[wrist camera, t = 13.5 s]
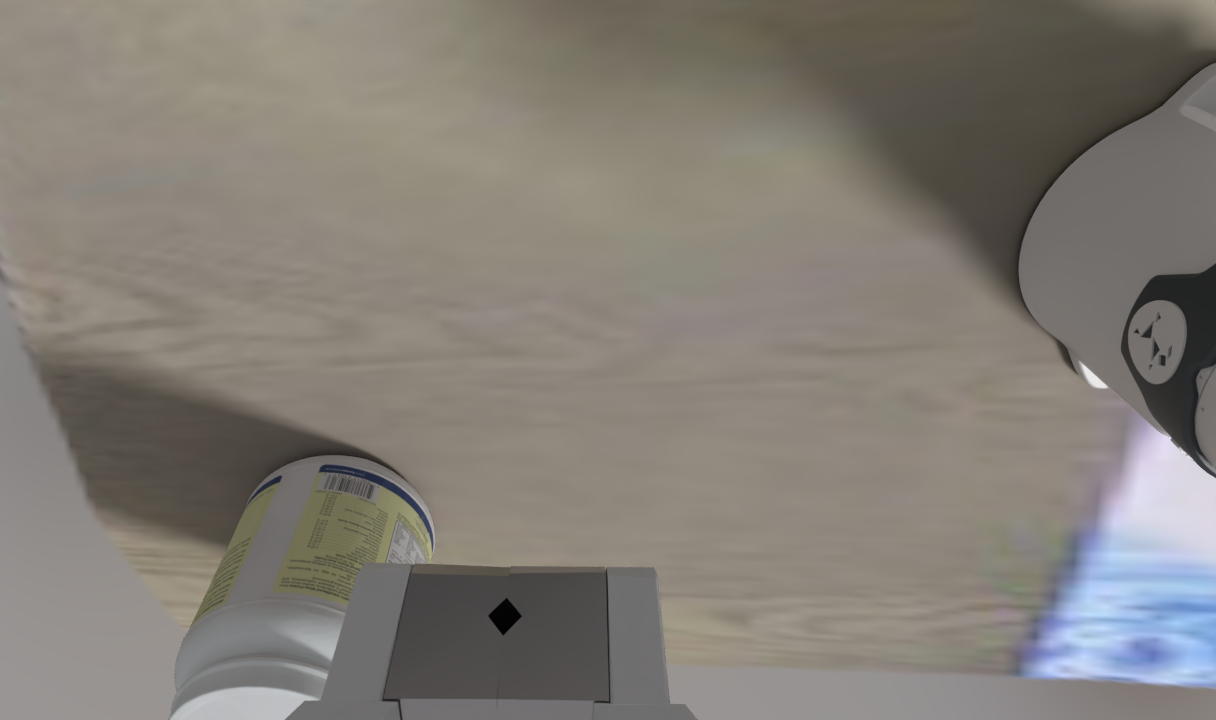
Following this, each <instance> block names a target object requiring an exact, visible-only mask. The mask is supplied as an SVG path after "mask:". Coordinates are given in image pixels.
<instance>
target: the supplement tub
mask: <svg viewBox="0 0 1216 720" xmlns="http://www.w3.org/2000/svg"><path fill="white" fill-rule="evenodd" d="M434 548H435V534H434V526H433V522H432V518H431V515H430V513H429V510H428V508H427V506H426V504H425V503H424V501H423V499H422V498H421V497H420V495H419V494H418V493H417V491H416V490H415V489H414V488H413V487H412V486H411V485H410V484H409V483H408V482H406V481H405V480H404V479H403V478H401V477H400V476H399V475H397V474H396V473H394V472H393V471H391V470H389V469H388V468H386V467H384V466H382V465H380V464H377V463H375V462H373V461H370V460H367V459H363V458H358V457H353V456H344V455H324V456H314V457H309V458H304V459H301V460H297V461H295V462H292V463H289V464H287V465H285V466H283V467H281V468H279V469H278V470H276V471H275V472H273V473H272V474H270V475H269V476H268V477H267V478H265V479H264V480H263V481H262V482H261V483H260V484H259V486H258V487H257V488H256V489H255V490H254V492H253V493H252V495H251V496H250V498H249V500H248V502H247V504H246V507H245V509H244V511H243V514H242V517H241V519H240V521H239V523H238V526H237V528H236V530H235V532H234V534H233V537H232V539H231V541H230V543H229V545H228V548H227V550H226V552H225V554H224V556H223V558H222V561H221V563H220V565H219V567H218V569H217V571H216V574H215V576H214V578H213V580H212V582H211V584H210V586H209V589H208V591H207V593H206V595H205V597H204V599H203V601H202V603H201V606H200V608H199V610H198V612H197V614H196V616H195V618H194V620H193V622H192V624H191V626H190V629H189V631H188V633H187V634H186V636H185V637H184V639H183V641H182V644H181V647H180V650H179V654H178V656H177V660H176V664H175V676H174V678H175V687H176V691H177V693H176V695H175V697H174V700H173V703H172V708H171V714H170V717H169V719H168V720H285V719H286V718H287V717H288V716H289V715H290V714H291V713H292V712H293V711H294V710H295V709H296V708H297V707H299V706H300V705H301V704H302V703H303V702H304V701H311V700H321V697H322V693H323V690H324V686H325V683H326V680H327V676H328V673H329V669H330V666H331V662H332V659H333V655H334V652H335V649H336V645H337V642H338V638H339V635H340V631H341V628H342V624H343V621H344V618H345V614H346V611H347V607H348V604H349V600H350V597H351V593H352V590H353V587H354V583H355V580H356V576H357V574H358V572H359V571H360V569H361V568H362V566H363V565H364V563H365V562H373V563H398V564H415V563H419V564H431V559H432V556H433V552H434Z"/></svg>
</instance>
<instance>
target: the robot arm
mask: <svg viewBox="0 0 1216 720" xmlns="http://www.w3.org/2000/svg"><path fill="white" fill-rule="evenodd" d="M1019 282H1020V288H1021V292H1022V296H1023V299H1024V301H1025V304H1026V306H1027V308H1028V310H1029V311H1030V313H1031V315H1032V316H1033V317H1034V319H1035V320H1036V321H1037V322H1038V323H1039V324H1040V325H1041V326H1042V327H1043V328H1044V329H1045V330H1046V331H1047V332H1049V333H1050V334H1051V335H1053V336H1054V337H1055V338H1057V339H1058V340H1059V341H1060V342H1062V343H1063V344H1064V345H1065V347H1066V348H1067V349H1068V352H1069V355H1070V358H1071V361H1072V363H1073V366H1074V368H1075V370H1076V372H1077V373H1078V375H1079V376H1080V377H1081V378H1082V379H1083V380H1084V381H1085V382H1086V383H1088V384H1089V385H1090V386H1092V387H1094V388H1099V389H1102V388H1110V389H1111V390H1112V391H1113V392H1114V393H1115V394H1117V395H1118V396H1119V397H1120V398H1121V399H1122V400H1123V401H1124V402H1125V403H1127V404H1128V405H1129V406H1130V407H1131V408H1132V409H1133V410H1135V411H1136V412H1137V413H1138V414H1139V415H1140V416H1141V417H1143V418H1144V419H1145V420H1146V421H1147V422H1148V423H1149V424H1151V425H1152V426H1153V427H1154V428H1155V429H1156V430H1158V431H1159V432H1160V433H1162V434H1164V435H1166V436H1168V437H1171V441H1172V442H1173V443H1174V444H1175V445H1176V446H1177V447H1178V448H1179V450H1181V451H1182V452H1183V453H1184V454H1185V455H1186V456H1187V457H1188V458H1190V459H1191V460H1192V461H1195V462H1196V463H1197V464H1198V465H1199V466H1200V467H1201V468H1202V469H1203V470H1205V471H1206V472H1207V473H1208V474H1210V475H1212V476H1213V477H1215V478H1216V63H1213V64H1211V65H1209V66H1207V67H1206V68H1204V69H1203V70H1201V71H1200V72H1199V73H1197V74H1196V75H1195V76H1194V77H1192V78H1191V79H1190V80H1189V81H1188V82H1187V83H1186V84H1184V85H1183V86H1182V87H1181V88H1180V89H1179V90H1178V91H1177V92H1176V93H1175V94H1174V95H1173V96H1172V97H1171V98H1170V99H1169V100H1168V101H1167V102H1166V103H1165V104H1164V105H1163V106H1161V107H1160V108H1158V109H1157V110H1155V111H1154V112H1152V113H1150V114H1149V115H1147V116H1145V117H1143V118H1141V119H1139V120H1137V121H1135V122H1133V123H1131V124H1129V125H1127V126H1125V127H1123V128H1121V129H1120V130H1118V131H1116V132H1114V133H1113V134H1111V135H1109V136H1108V137H1106V138H1104V139H1103V140H1101V141H1100V142H1098V143H1097V144H1096V145H1094V146H1093V147H1091V148H1090V149H1089V150H1088V151H1086V152H1085V153H1084V154H1083V155H1081V156H1080V157H1079V158H1078V159H1077V160H1076V161H1075V162H1073V163H1072V164H1071V165H1070V166H1069V167H1068V168H1067V169H1066V170H1065V171H1064V172H1063V173H1062V174H1061V176H1060V177H1059V178H1058V179H1057V180H1056V181H1055V183H1054V184H1053V185H1052V186H1051V188H1050V189H1049V190H1048V192H1047V193H1046V194H1045V196H1044V197H1043V199H1042V200H1041V202H1040V204H1039V205H1038V207H1037V209H1036V210H1035V212H1034V214H1033V216H1032V218H1031V220H1030V223H1029V225H1028V227H1027V230H1026V233H1025V236H1024V239H1023V242H1022V247H1021V251H1020V258H1019ZM285 720H697V719H696V717H695V716H694V715H693V714H692V712H691V711H690V710H689V709H688V707H687V706H686V705H685V704H670V699H669V688H668V678H667V667H666V657H665V646H664V636H663V625H662V614H661V604H660V593H659V583H658V575H657V573H656V571H655V569H654V567H607V568H606V570H605V567H552V566H511V567H491V566H467V565H443V564H419V563H415V564H398V563H373V562H365V563H364V565H363V566H362V568H361V569H360V571H359V572H358V574H357V576H356V580H355V583H354V587H353V590H352V593H351V597H350V600H349V604H348V607H347V611H346V614H345V618H344V621H343V624H342V628H341V631H340V635H339V638H338V642H337V645H336V649H335V652H334V655H333V659H332V662H331V666H330V669H329V673H328V676H327V680H326V683H325V686H324V690H323V693H322V697H321V700H311V701H304V702H303V703H302V704H301V705H300V706H299V707H297V708H296V709H295V710H294V711H293V712H292V713H291V714H290V715H289V716H288V717H287V718H286V719H285Z"/></svg>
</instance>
